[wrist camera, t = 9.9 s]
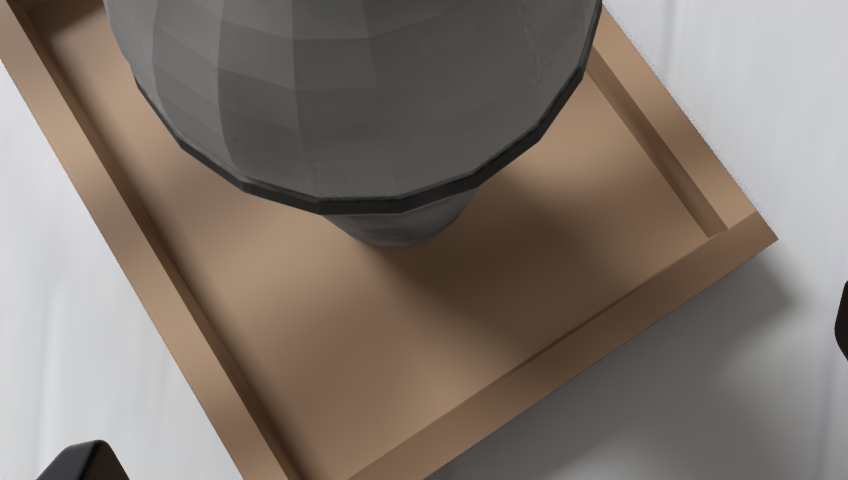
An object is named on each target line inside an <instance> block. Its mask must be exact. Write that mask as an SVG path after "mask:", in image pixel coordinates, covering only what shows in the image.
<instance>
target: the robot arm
mask: <svg viewBox="0 0 848 480" xmlns="http://www.w3.org/2000/svg"><path fill="white" fill-rule="evenodd" d="M834 329H835V337H836V341H837V343H838V346H839V347H840V349H841V351H842V352H843V354H844V356H845V357H846V359H847V360H848V281H847V282H846V283H845V286H844V289H843V293H842V297H841V301H840V306H839V310H838V314H837V318H836V322H835V328H834ZM36 480H130V479H129V478H128V476H127V474H126V473H125V471H124V469H123V467H122V466H121V464H120V462H119V460H118V459H117V457H116V455H115V454H114V452H113V450H112V448H111V447H110V446H109V444H108V443H107V442H105V441H103V440H94V441H89V442H85V443H80V444H75V445H71V446H69V447H67V448H65V449H64V450H63V451H62V452H61V453H60V454H59V455H58V456H57V457H56V458H55V459H54V460H53V461H52V463H51V464H50V465H49V466H48V467H47V468H46V469H45V470H44V472H43V473H42V474H41V475H40V476H39V477H38V478H37V479H36Z"/></svg>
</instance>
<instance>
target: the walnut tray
mask: <svg viewBox="0 0 848 480" xmlns="http://www.w3.org/2000/svg"><path fill="white" fill-rule="evenodd" d="M0 59H1V61H2V63H3V64H4V66H5V68H6V70H7V71H8V73H9V75H10V76H11V78H12V80H13V82H14V83H15V85H16V87H17V89H18V90H19V92H20V94H21V95H22V97H23V99H24V101H25V102H26V104H27V106H28V108H29V109H30V111H31V113H32V114H33V116H34V118H35V120H36V121H37V123H38V125H39V127H40V128H41V130H42V132H43V133H44V135H45V137H46V139H47V140H48V142H49V144H50V146H51V147H52V149H53V151H54V152H55V154H56V156H57V158H58V159H59V161H60V163H61V165H62V166H63V168H64V170H65V171H66V173H67V175H68V177H69V178H70V180H71V182H72V184H73V185H74V187H75V189H76V190H77V192H78V194H79V196H80V197H81V199H82V201H83V203H84V204H85V206H86V208H87V210H88V211H89V213H90V215H91V216H92V218H93V220H94V222H95V223H96V225H97V227H98V229H99V230H100V232H101V234H102V235H103V237H104V239H105V241H106V242H107V244H108V246H109V248H110V249H111V251H112V253H113V254H114V256H115V258H116V260H117V261H118V263H119V265H120V267H121V268H122V270H123V272H124V273H125V275H126V277H127V279H128V280H129V282H130V284H131V286H132V287H133V289H134V291H135V292H136V294H137V296H138V298H139V299H140V301H141V303H142V305H143V306H144V308H145V310H146V311H147V313H148V315H149V317H150V318H151V320H152V322H153V324H154V325H155V327H156V329H157V330H158V332H159V334H160V336H161V337H162V339H163V341H164V343H165V344H166V346H167V348H168V349H169V351H170V353H171V355H172V356H173V358H174V360H175V362H176V363H177V365H178V367H179V368H180V370H181V372H182V374H183V375H184V377H185V379H186V381H187V382H188V384H189V386H190V387H191V389H192V391H193V393H194V394H195V396H196V398H197V400H198V401H199V403H200V405H201V406H202V408H203V410H204V412H205V413H206V415H207V417H208V419H209V420H210V422H211V424H212V425H213V427H214V429H215V431H216V432H217V434H218V436H219V438H220V439H221V441H222V443H223V444H224V446H225V448H226V450H227V451H228V453H229V455H230V457H231V458H232V460H233V462H234V463H235V465H236V467H237V469H238V470H239V472H240V474H241V476H242V477H243V479H244V480H423V479H425V478H426V477H427V476H429V475H430V474H432V473H433V472H435V471H436V470H438V469H439V468H441V467H442V466H444V465H445V464H447V463H448V462H450V461H451V460H453V459H454V458H456V457H457V456H459V455H460V454H462V453H463V452H464V451H466V450H467V449H469V448H470V447H472V446H473V445H475V444H476V443H478V442H479V441H481V440H482V439H484V438H485V437H487V436H488V435H490V434H491V433H493V432H494V431H496V430H497V429H499V428H500V427H501V426H503V425H504V424H506V423H507V422H509V421H510V420H512V419H513V418H515V417H516V416H518V415H519V414H521V413H522V412H524V411H525V410H527V409H528V408H530V407H531V406H533V405H534V404H536V403H537V402H538V401H540V400H541V399H543V398H544V397H546V396H547V395H549V394H550V393H552V392H553V391H555V390H556V389H558V388H559V387H561V386H562V385H564V384H565V383H567V382H568V381H570V380H571V379H573V378H574V377H576V376H577V375H578V374H580V373H581V372H583V371H584V370H586V369H587V368H589V367H590V366H592V365H593V364H595V363H596V362H598V361H599V360H601V359H602V358H604V357H605V356H607V355H608V354H610V353H611V352H613V351H614V350H615V349H617V348H618V347H620V346H621V345H623V344H624V343H626V342H627V341H629V340H630V339H632V338H633V337H635V336H636V335H638V334H639V333H641V332H642V331H644V330H645V329H647V328H648V327H650V326H651V325H652V324H654V323H655V322H657V321H658V320H660V319H661V318H663V317H664V316H666V315H667V314H669V313H670V312H672V311H673V310H675V309H676V308H678V307H679V306H681V305H682V304H684V303H685V302H687V301H688V300H689V299H691V298H692V297H694V296H695V295H697V294H698V293H700V292H701V291H703V290H704V289H706V288H707V287H709V286H710V285H712V284H713V283H715V282H716V281H718V280H719V279H721V278H722V277H724V276H725V275H727V274H728V273H729V272H731V271H732V270H734V269H735V268H737V267H738V266H740V265H741V264H743V263H744V262H746V261H747V260H749V259H750V258H752V257H753V256H755V255H756V254H758V253H759V252H761V251H762V250H764V249H765V248H766V247H768V246H769V245H771V244H772V243H774V242H775V241H777V240H778V238H777V236H776V235H775V234H774V232H773V231H772V230H771V228H770V227H769V226H768V224H767V223H766V222H765V220H764V219H763V218H762V216H761V215H760V214H759V212H758V211H757V210H756V208H755V207H754V206H753V204H752V203H751V202H750V200H749V199H748V198H747V196H746V195H745V194H744V192H743V191H742V190H741V188H740V187H739V186H738V184H737V183H736V182H735V180H734V179H733V178H732V176H731V175H730V174H729V172H728V171H727V170H726V168H725V167H724V166H723V164H722V163H721V162H720V160H719V159H718V158H717V156H716V155H715V154H714V152H713V151H712V150H711V148H710V147H709V146H708V144H707V143H706V142H705V140H704V139H703V138H702V136H701V135H700V134H699V132H698V131H697V130H696V128H695V127H694V126H693V124H692V123H691V122H690V120H689V119H688V118H687V116H686V115H685V114H684V112H683V111H682V110H681V108H680V107H679V106H678V104H677V103H676V102H675V100H674V99H673V98H672V96H671V95H670V93H669V92H668V91H667V89H666V88H665V87H664V85H663V84H662V83H661V81H660V80H659V79H658V77H657V76H656V75H655V73H654V72H653V71H652V69H651V68H650V67H649V65H648V64H647V63H646V61H645V60H644V59H643V57H642V56H641V55H640V53H639V52H638V51H637V49H636V48H635V47H634V45H633V44H632V43H631V41H630V40H629V39H628V37H627V36H626V35H625V33H624V32H623V31H622V29H621V28H620V27H619V25H618V24H617V23H616V21H615V20H614V19H613V17H612V16H611V15H610V13H609V12H608V11H607V9H606V8H605V7H604V5H603V4H602V12H601V16H600V19H599V23H598V26H597V30H596V33H595V37H594V41H593V44H592V48H591V51H590V55H589V58H588V62H587V65H586V69H585V73H584V76H583V80H582V81H581V82H580V84H579V85H578V87H577V88H576V90H575V91H574V92H573V94H572V95H571V97H570V98H569V100H568V101H567V103H566V104H565V105H564V107H563V108H562V110H561V111H560V113H559V114H558V115H557V117H556V118H555V120H554V121H553V123H552V124H551V126H550V127H549V128H548V130H547V131H546V133H545V134H544V136H543V137H542V138H541V140H540V141H539V142H538V143H537V144H535V145H534V146H532V147H531V148H530V149H528V150H527V151H526V152H524V153H523V154H522V155H520V156H519V157H518V158H516V159H515V160H514V161H512V162H511V163H510V164H508V165H507V166H506V167H504V168H503V169H502V170H500V171H499V172H498V173H496V174H495V175H493V176H492V177H491V178H489V179H488V180H487V181H485V182H484V183H483V184H481V185H480V186H479V188H478V189H477V191H476V192H475V194H474V195H473V196H472V198H471V199H470V201H469V202H468V204H467V205H466V207H465V208H464V209H463V211H462V212H461V214H460V215H459V216H458V218H457V219H456V221H455V222H453V223H452V224H451V225H450V226H449V227H448V228H446V229H445V230H444V231H442V232H441V233H440V234H438V235H437V236H436V237H434V238H433V239H432V240H430V241H427V242H424V243H421V244H418V245H416V246H413V247H410V248H382V247H379V246H375V245H372V244H369V243H365V242H363V241H360V240H357V239H354V238H353V237H351V236H350V235H349V234H347V233H346V232H344V231H343V230H341V229H340V228H338V227H337V226H336V225H334V224H333V223H331V222H330V221H328V220H327V219H326V218H324V217H323V216H321V215H317V214H314V213H310V212H307V211H304V210H300V209H297V208H294V207H290V206H287V205H284V204H280V203H277V202H274V201H270V200H267V199H264V198H260V197H257V196H254V195H250V194H247V193H244V192H242V191H241V190H240V189H238V188H237V187H235V186H234V185H232V184H231V183H230V182H228V181H227V180H225V179H224V178H222V177H221V176H220V175H218V174H217V173H215V172H214V171H212V170H211V169H210V168H208V167H207V166H205V165H204V164H203V163H201V162H200V161H198V160H197V159H195V158H194V157H193V156H191V155H190V154H188V153H187V152H185V151H184V150H183V149H181V148H180V146H179V145H178V143H177V142H176V141H175V139H174V138H173V136H172V135H171V134H170V132H169V131H168V130H167V128H166V127H165V125H164V124H163V123H162V121H161V120H160V118H159V117H158V116H157V114H156V113H155V112H154V110H153V109H152V107H151V106H150V105H149V103H148V102H147V101H146V99H145V98H144V96H143V95H142V94H141V92H140V91H139V89H138V87H137V85H136V82H135V79H134V77H133V73H132V70H131V66H130V64H129V63H128V61H127V60H126V59H125V57H124V56H123V54H122V53H121V50H120V48H119V46H118V43H117V41H116V39H115V36H114V34H113V32H112V30H111V26H110V23H109V19H108V16H107V12H106V9H105V6H104V2H103V0H0Z"/></svg>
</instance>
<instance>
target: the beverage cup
mask: <svg viewBox="0 0 848 480" xmlns="http://www.w3.org/2000/svg"><path fill="white" fill-rule="evenodd" d="M103 2H104V6H105V9H106V12H107V16H108V19H109V23H110V26H111V30H112V32H113V34H114V36H115V39H116V41H117V43H118V46H119V48H120V50H121V53H122V54H123V56H124V57H125V59H126V60H127V61H128V63H129V64H130V66H131V70H132V73H133V77H134V79H135V82H136V85H137V87H138V89H139V91H140V92H141V94H142V95H143V96H144V98H145V99H146V101H147V102H148V103H149V105H150V106H151V107H152V109H153V110H154V112H155V113H156V114H157V116H158V117H159V118H160V120H161V121H162V123H163V124H164V125H165V127H166V128H167V130H168V131H169V132H170V134H171V135H172V136H173V138H174V139H175V141H176V142H177V143H178V145H179V146H180V148H181V149H183V150H184V151H185V152H187V153H188V154H190V155H191V156H193V157H194V158H195V159H197V160H198V161H200V162H201V163H203V164H204V165H205V166H207V167H208V168H210V169H211V170H212V171H214V172H215V173H217V174H218V175H220V176H221V177H222V178H224V179H225V180H227V181H228V182H230V183H231V184H232V185H234V186H235V187H237V188H238V189H240V190H241V191H242V192H244V193H247V194H250V195H254V196H257V197H260V198H264V199H267V200H270V201H274V202H277V203H280V204H284V205H287V206H290V207H294V208H297V209H300V210H304V211H307V212H310V213H314V214H317V215H321V216H323V217H324V218H326V219H327V220H328V221H330V222H331V223H333V224H334V225H336V226H337V227H338V228H340V229H341V230H343V231H344V232H346V233H347V234H349V235H350V236H351V237H353V238H354V239H357V240H360V241H363V242H365V243H369V244H372V245H375V246H379V247H382V248H410V247H413V246H416V245H418V244H421V243H424V242H427V241H430V240H432V239H433V238H434V237H436V236H437V235H438V234H440V233H441V232H442V231H444V230H445V229H446V228H448V227H449V226H450V225H451V224H452V223H453V222H455V221H456V219H457V218H458V216H459V215H460V214H461V212H462V211H463V209H464V208H465V207H466V205H467V204H468V202H469V201H470V199H471V198H472V196H473V195H474V194H475V192H476V191H477V189H478V188H479V186H480V185H481V184H483V183H484V182H485V181H487V180H488V179H489V178H491V177H492V176H493V175H495V174H496V173H498V172H499V171H500V170H502V169H503V168H504V167H506V166H507V165H508V164H510V163H511V162H512V161H514V160H515V159H516V158H518V157H519V156H520V155H522V154H523V153H524V152H526V151H527V150H528V149H530V148H531V147H532V146H534V145H535V144H537V143H538V142H539V141H540V140H541V138H542V137H543V136H544V134H545V133H546V131H547V130H548V128H549V127H550V126H551V124H552V123H553V121H554V120H555V118H556V117H557V115H558V114H559V113H560V111H561V110H562V108H563V107H564V105H565V104H566V103H567V101H568V100H569V98H570V97H571V95H572V94H573V92H574V91H575V90H576V88H577V87H578V85H579V84H580V82H581V81H582V80H583V76H584V73H585V69H586V65H587V62H588V58H589V55H590V51H591V48H592V44H593V41H594V37H595V33H596V30H597V26H598V23H599V19H600V16H601V12H602V0H103Z"/></svg>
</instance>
